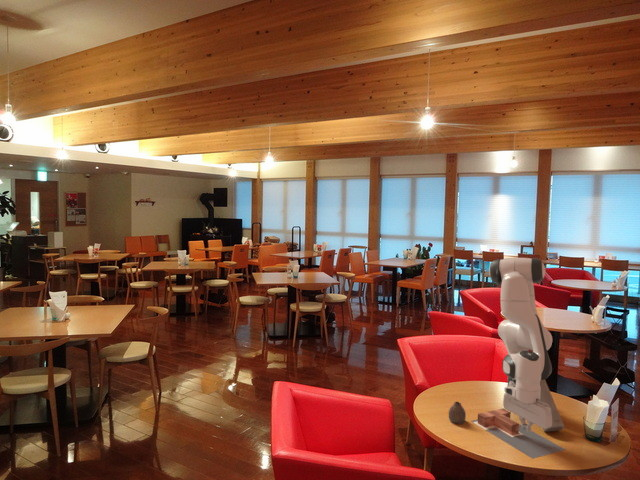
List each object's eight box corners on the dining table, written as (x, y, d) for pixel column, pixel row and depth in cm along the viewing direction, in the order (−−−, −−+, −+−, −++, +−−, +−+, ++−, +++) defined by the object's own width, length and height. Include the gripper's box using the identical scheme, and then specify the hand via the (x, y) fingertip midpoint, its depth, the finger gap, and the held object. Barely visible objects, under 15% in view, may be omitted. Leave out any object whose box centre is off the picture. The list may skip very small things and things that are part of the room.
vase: (466, 428, 187) (467, 407, 187) (448, 426, 189) (449, 405, 188) (464, 420, 194) (465, 400, 193) (447, 418, 195) (448, 398, 195)
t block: (502, 417, 195) (503, 408, 195) (527, 431, 183) (528, 421, 183) (477, 423, 189) (477, 413, 189) (501, 437, 178) (502, 427, 177)
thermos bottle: (547, 427, 179) (521, 360, 197) (541, 433, 185) (516, 368, 203) (567, 424, 179) (539, 358, 197) (560, 431, 185) (534, 366, 203)
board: (501, 416, 198) (501, 414, 198) (565, 452, 170) (566, 449, 170) (470, 423, 192) (470, 420, 192) (532, 461, 163) (532, 458, 163)
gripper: (557, 403, 167) (555, 440, 168) (512, 384, 186) (511, 417, 187) (544, 406, 165) (543, 443, 166) (501, 386, 183) (499, 419, 184)
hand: (526, 429), depth 176 cm, fingers closed
